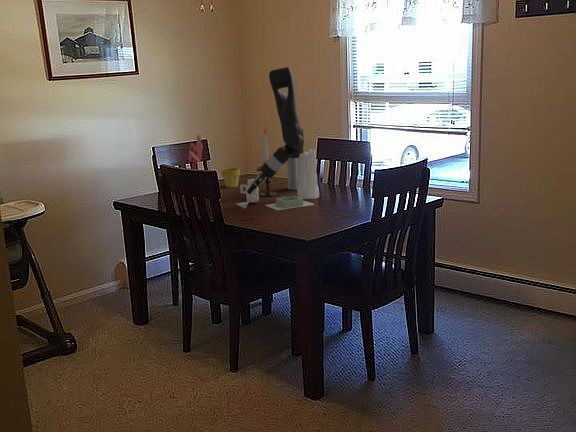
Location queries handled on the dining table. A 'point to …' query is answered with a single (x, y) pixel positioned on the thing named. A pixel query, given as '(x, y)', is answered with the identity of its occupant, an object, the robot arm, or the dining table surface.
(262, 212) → the dining table surface
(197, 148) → the figurine
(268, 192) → the candlestick
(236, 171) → the plant pot
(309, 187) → the decorative vase
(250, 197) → the cream jug
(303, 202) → the tray
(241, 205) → the grey mat
